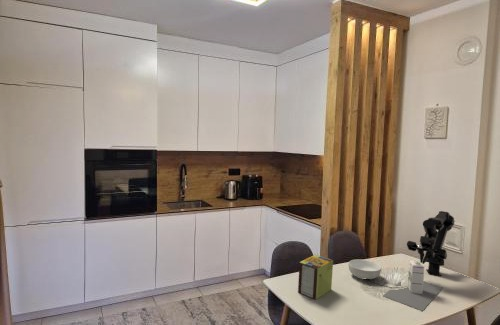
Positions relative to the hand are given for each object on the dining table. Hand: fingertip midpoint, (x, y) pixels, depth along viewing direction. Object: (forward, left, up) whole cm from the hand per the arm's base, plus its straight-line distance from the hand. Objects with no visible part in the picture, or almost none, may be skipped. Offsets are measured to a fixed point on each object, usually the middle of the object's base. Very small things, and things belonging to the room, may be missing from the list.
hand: (421, 263), depth 169 cm
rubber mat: (+8, -4, -13) cm, 16 cm away
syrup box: (+7, -4, -12) cm, 15 cm away
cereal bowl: (-2, -28, -13) cm, 31 cm away
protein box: (+24, -53, -13) cm, 60 cm away
